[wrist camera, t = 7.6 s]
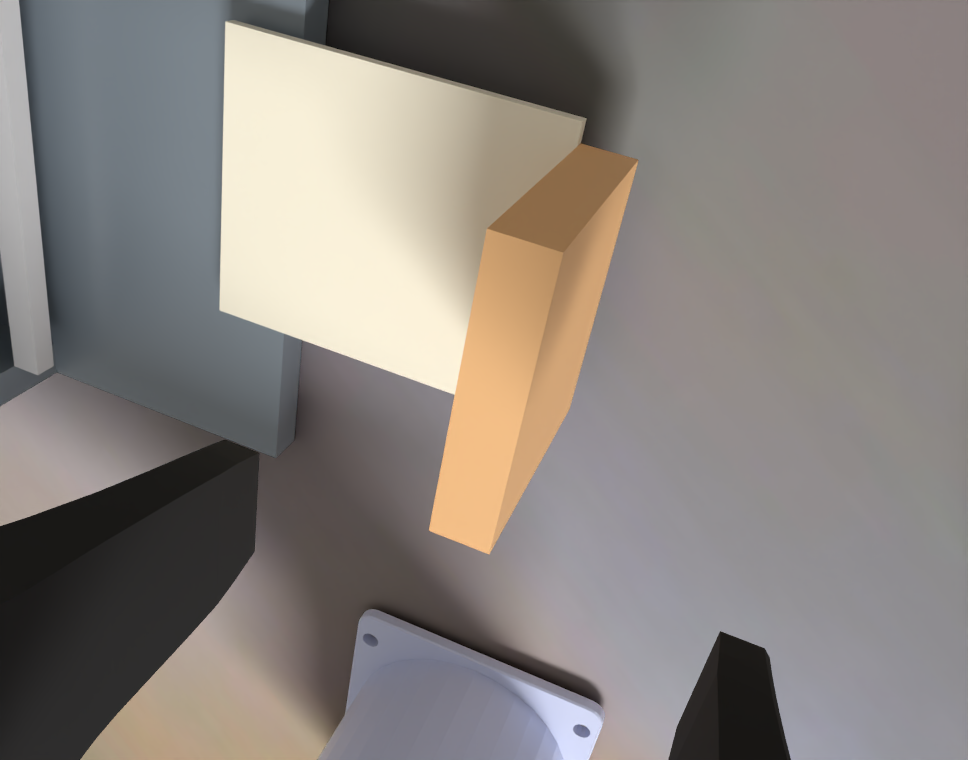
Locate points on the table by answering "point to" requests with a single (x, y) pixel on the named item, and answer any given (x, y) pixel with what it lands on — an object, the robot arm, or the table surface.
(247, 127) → the two-tone bracket
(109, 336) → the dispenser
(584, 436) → the table surface
